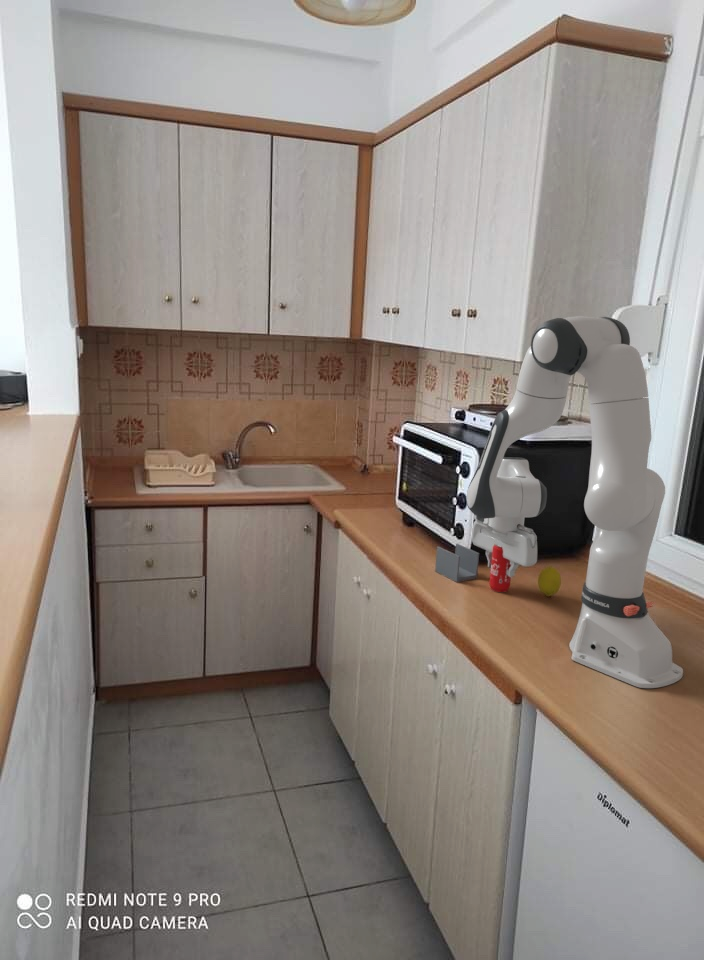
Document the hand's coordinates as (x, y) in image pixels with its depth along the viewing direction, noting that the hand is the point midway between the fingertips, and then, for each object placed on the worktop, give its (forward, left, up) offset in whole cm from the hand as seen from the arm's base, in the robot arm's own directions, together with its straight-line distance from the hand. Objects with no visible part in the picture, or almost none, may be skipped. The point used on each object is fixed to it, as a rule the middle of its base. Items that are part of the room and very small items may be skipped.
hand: (500, 572), depth 182 cm
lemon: (-9, -8, -5) cm, 13 cm away
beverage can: (0, 0, -5) cm, 5 cm away
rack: (+13, +3, -5) cm, 14 cm away
